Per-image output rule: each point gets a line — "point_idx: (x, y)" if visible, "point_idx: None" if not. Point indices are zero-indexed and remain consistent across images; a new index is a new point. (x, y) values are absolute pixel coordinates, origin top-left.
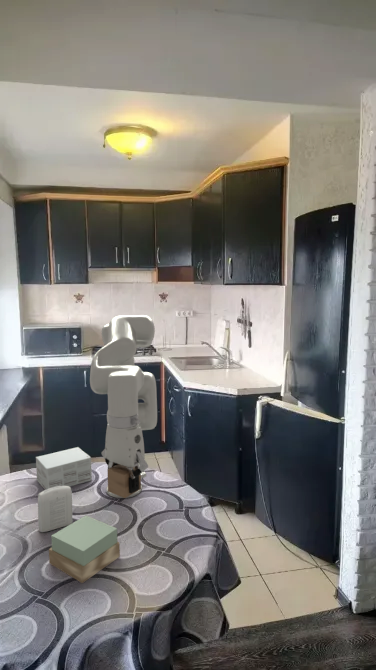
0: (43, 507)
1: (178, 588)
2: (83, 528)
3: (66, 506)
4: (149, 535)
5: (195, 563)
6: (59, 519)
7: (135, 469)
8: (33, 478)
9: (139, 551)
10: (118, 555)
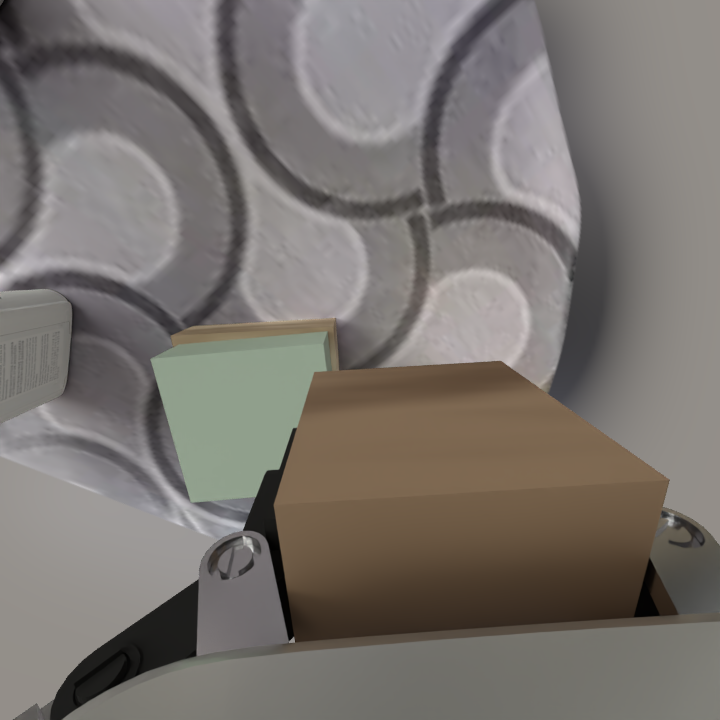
0: None
1: (555, 310)
2: (229, 418)
3: (5, 337)
4: (324, 168)
5: (545, 190)
6: (46, 353)
7: (656, 593)
8: None
9: (363, 261)
10: (335, 324)
